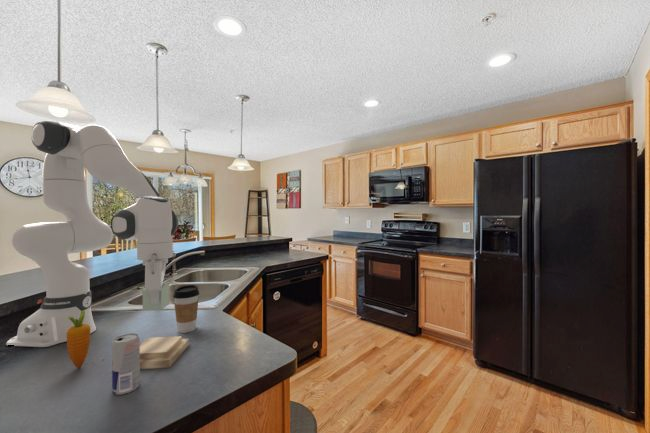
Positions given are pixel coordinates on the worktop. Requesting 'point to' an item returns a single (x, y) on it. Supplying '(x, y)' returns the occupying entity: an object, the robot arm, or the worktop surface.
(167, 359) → the stand
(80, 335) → the carrot
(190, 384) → the worktop surface
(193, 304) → the coffee cup
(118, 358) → the energy drink
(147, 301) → the block
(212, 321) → the worktop surface
